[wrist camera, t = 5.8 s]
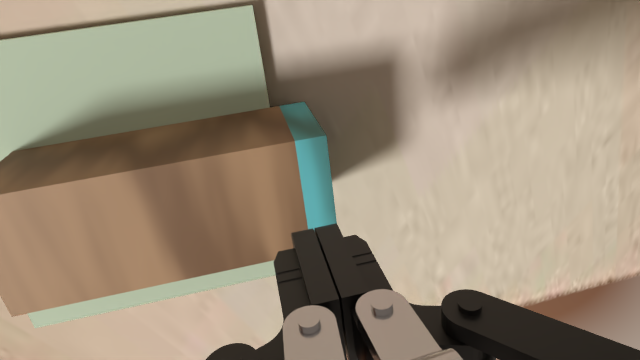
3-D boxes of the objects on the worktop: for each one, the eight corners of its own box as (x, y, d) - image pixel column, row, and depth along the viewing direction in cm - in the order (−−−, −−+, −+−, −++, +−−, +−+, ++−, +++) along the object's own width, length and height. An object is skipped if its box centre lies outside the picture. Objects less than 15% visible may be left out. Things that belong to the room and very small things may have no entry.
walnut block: (326, 135, 16) (-51, 203, 15) (339, 246, 19) (11, 316, 17) (304, 101, 21) (12, 151, 19) (316, 194, 23) (55, 246, 21)
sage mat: (251, 4, 19) (252, 5, 19) (296, 264, 25) (297, 270, 25) (-100, 53, 18) (-110, 55, 17) (39, 320, 24) (35, 328, 23)
